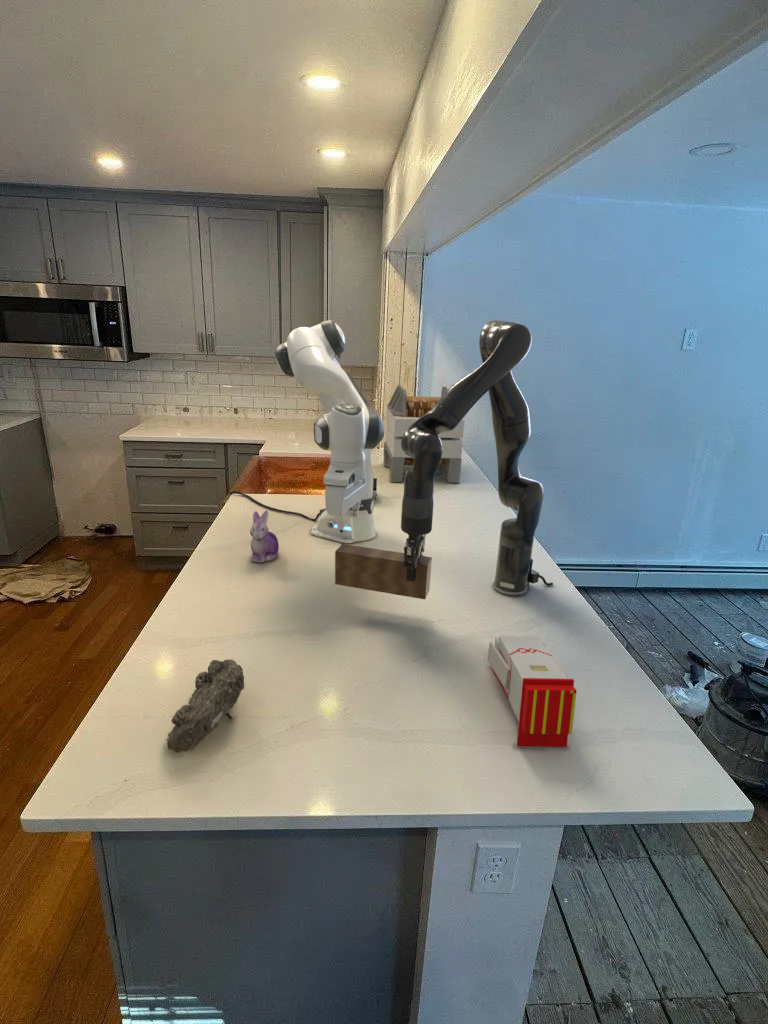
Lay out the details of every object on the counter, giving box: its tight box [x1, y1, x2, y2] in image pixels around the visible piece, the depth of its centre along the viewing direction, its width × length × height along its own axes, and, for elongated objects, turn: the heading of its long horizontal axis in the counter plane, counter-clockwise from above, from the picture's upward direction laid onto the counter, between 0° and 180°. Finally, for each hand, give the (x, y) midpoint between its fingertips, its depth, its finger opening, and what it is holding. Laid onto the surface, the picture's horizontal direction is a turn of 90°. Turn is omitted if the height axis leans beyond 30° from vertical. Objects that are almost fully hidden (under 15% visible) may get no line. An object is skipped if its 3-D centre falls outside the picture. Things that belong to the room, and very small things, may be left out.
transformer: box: [383, 384, 465, 484], centre depth 268 cm, size 34×33×41 cm
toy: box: [486, 635, 577, 748], centre depth 115 cm, size 12×13×30 cm
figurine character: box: [373, 477, 378, 500], centre depth 233 cm, size 7×8×15 cm
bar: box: [334, 543, 433, 600], centre depth 144 cm, size 24×5×9 cm, turn 74°
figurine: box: [249, 509, 280, 563], centre depth 174 cm, size 9×10×15 cm
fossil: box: [166, 658, 245, 754], centre depth 106 cm, size 22×10×15 cm
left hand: (348, 521), depth 147 cm, fingers open, 8 cm apart
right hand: (413, 575), depth 142 cm, fingers closed on bar, 5 cm apart
